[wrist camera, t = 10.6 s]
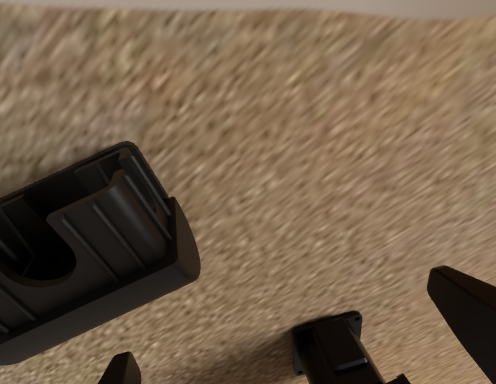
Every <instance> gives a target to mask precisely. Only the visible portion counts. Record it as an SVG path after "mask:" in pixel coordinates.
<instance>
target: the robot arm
mask: <svg viewBox="0 0 496 384" xmlns="http://www.w3.org/2000/svg"><path fill="white" fill-rule="evenodd" d="M427 291H428V294H429V296H430V297H431V299H432V300H433V302H434V304H435V305H436V307H437V308H438V310H439V311H440V313H441V314H442V316H443V317H444V319H445V320H446V322H447V324H448V325H449V327H450V328H451V330H452V331H453V333H454V334H455V336H456V337H457V339H458V340H459V341H460V343H461V344H462V345H463V347H464V348H465V349H466V351H467V352H468V353H469V354H470V356H471V357H472V358H473V359H474V361H475V362H476V363H477V365H478V366H479V367H480V368H481V370H482V371H483V372H484V373H485V375H486V376H487V377H488V378H489V380H490V381H491V382H492V384H496V287H495V286H493V285H491V284H488V283H486V282H483V281H481V280H479V279H476V278H474V277H472V276H469V275H467V274H465V273H462V272H460V271H458V270H455V269H453V268H451V267H448V266H445V265H443V266H438V267H435V268H432V269H431V270H430V274H429V279H428V284H427ZM361 325H362V315H361V314H360V313H359V312H358V311H356V312H352V313H348V314H345V315H341V316H337V317H334V318H330V319H326V320H323V321H319V322H315V323H312V324H308V325H304V326H301V327H297V328H295V329H293V330H292V347H293V362H294V371H295V374H296V375H297V376H300V375H304V374H306V377H307V380H308V382H309V384H411V383H410V382H409V381H408V379H407V378H406V377H405V375H404V374H403V373H402V374H400V375H398V376H397V378H396V379H394V380H392V381H390V382H388V383H386V382H385V381H384V379H383V377H382V376H381V374H380V372H379V371H378V369H377V367H376V366H375V364H374V362H373V361H372V359H371V357H370V356H369V354H368V352H367V351H366V349H365V347H364V346H363V344H362V342H361V341H360V336H361ZM98 384H141V373H140V369H139V367H138V365H137V363H136V360H135V358H134V356H133V354H132V353H131V352H124V353H121V354H117V355H115V356H114V357H113V359H112V360H111V362H110V364H109V365H108V367H107V369H106V370H105V372H104V374H103V376H102V377H101V379H100V381H99V382H98Z"/></svg>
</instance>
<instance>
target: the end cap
mask: <svg viewBox="0 0 496 384" xmlns="http://www.w3.org/2000/svg"><path fill="white" fill-rule="evenodd" d="M200 268H201V266H200V257H199V252H198V249H197V245H196V242H195V239H194V236H193V233H192V231H191V228H190V226H189V224H188V221H187V219H186V217H185V215H184V213H183V211H182V209H181V207H180V205H179V204H178V202H177V200H176V198H175V197H170V198H169V197H168V195H167V193H166V191H165V190H164V188H163V187H162V185H161V184H160V182H159V180H158V179H157V177H156V176H155V174H154V172H153V171H152V169H151V168H150V166H149V164H148V163H147V161H146V160H145V158H144V157H143V155H142V153H141V152H140V150H139V149H138V147H137V146H136V145H135V144H134V143H132V142H129V141H125V142H121V143H119V144H117V145H115V146H112V147H110V148H108V149H106V150H104V151H102V152H100V153H97V154H95V155H93V156H91V157H89V158H87V159H85V160H82V161H80V162H78V163H76V164H74V165H72V166H69V167H67V168H65V169H63V170H61V171H59V172H57V173H54V174H52V175H50V176H48V177H46V178H44V179H41V180H39V181H37V182H35V183H33V184H31V185H29V186H26V187H24V188H22V189H20V190H18V191H16V192H13V193H11V194H9V195H7V196H5V197H3V198H1V199H0V365H12V364H16V363H20V362H22V361H24V360H26V359H28V358H31V357H33V356H35V355H37V354H39V353H41V352H44V351H46V350H48V349H50V348H52V347H54V346H56V345H59V344H61V343H63V342H65V341H67V340H69V339H71V338H74V337H76V336H78V335H80V334H82V333H84V332H87V331H89V330H91V329H93V328H95V327H97V326H99V325H102V324H104V323H106V322H108V321H110V320H112V319H114V318H117V317H119V316H121V315H123V314H125V313H127V312H130V311H132V310H134V309H136V308H138V307H140V306H142V305H145V304H147V303H149V302H151V301H153V300H155V299H157V298H160V297H162V296H164V295H166V294H168V293H170V292H172V291H175V290H177V289H179V288H181V287H183V286H185V285H188V284H190V283H192V282H194V281H195V280H197V279H198V277H199V275H200Z"/></svg>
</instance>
